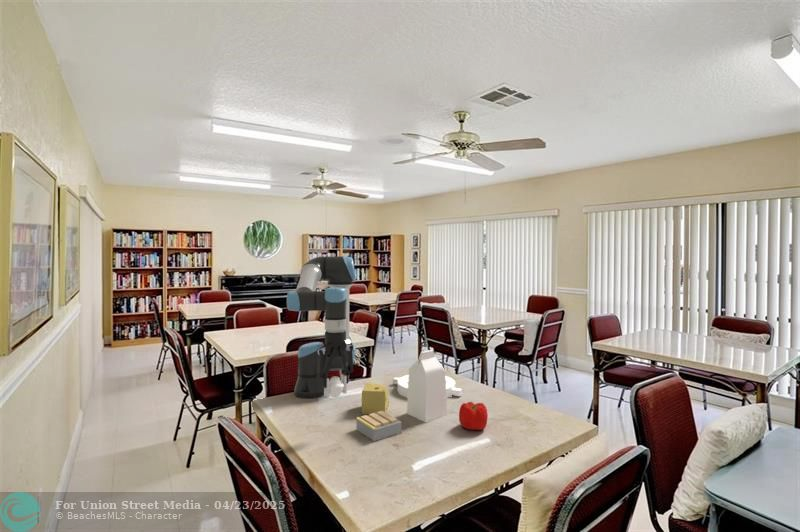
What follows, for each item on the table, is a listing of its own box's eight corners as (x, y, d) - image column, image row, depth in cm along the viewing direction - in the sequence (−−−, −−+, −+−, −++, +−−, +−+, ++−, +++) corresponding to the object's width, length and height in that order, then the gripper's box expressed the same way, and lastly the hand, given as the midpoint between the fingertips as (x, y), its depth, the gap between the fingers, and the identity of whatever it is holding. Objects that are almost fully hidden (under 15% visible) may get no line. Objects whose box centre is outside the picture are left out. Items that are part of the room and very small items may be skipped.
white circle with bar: (464, 398, 184) (464, 388, 184) (406, 403, 177) (406, 393, 177) (442, 380, 211) (442, 371, 211) (391, 384, 204) (391, 375, 204)
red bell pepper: (488, 422, 156) (488, 399, 156) (486, 435, 145) (486, 411, 144) (460, 419, 159) (461, 397, 159) (456, 432, 147) (457, 407, 147)
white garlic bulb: (325, 393, 146) (325, 374, 146) (342, 391, 148) (341, 372, 148) (328, 399, 140) (328, 379, 140) (345, 397, 142) (345, 377, 142)
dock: (356, 429, 149) (356, 416, 149) (383, 421, 156) (383, 409, 156) (373, 441, 139) (373, 427, 139) (401, 432, 147) (401, 419, 146)
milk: (425, 422, 156) (426, 356, 155) (406, 413, 165) (407, 350, 164) (447, 414, 164) (447, 351, 163) (427, 406, 173) (428, 346, 172)
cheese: (388, 406, 173) (389, 383, 173) (385, 415, 162) (385, 391, 162) (365, 405, 174) (365, 382, 174) (360, 414, 163) (360, 390, 163)
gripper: (314, 335, 135) (314, 403, 135) (363, 329, 146) (363, 392, 146) (306, 331, 141) (306, 396, 141) (353, 326, 152) (353, 386, 153)
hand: (335, 394), depth 144 cm, fingers closed on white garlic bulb, 6 cm apart
